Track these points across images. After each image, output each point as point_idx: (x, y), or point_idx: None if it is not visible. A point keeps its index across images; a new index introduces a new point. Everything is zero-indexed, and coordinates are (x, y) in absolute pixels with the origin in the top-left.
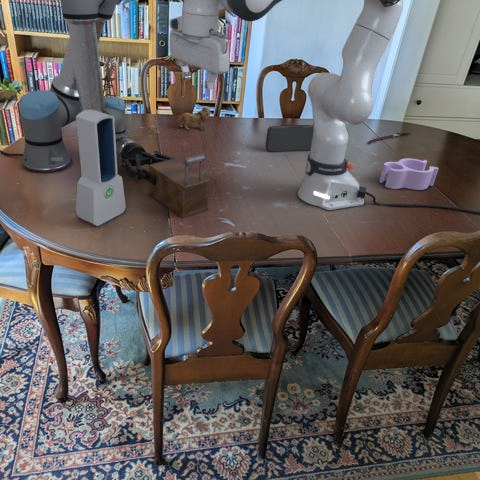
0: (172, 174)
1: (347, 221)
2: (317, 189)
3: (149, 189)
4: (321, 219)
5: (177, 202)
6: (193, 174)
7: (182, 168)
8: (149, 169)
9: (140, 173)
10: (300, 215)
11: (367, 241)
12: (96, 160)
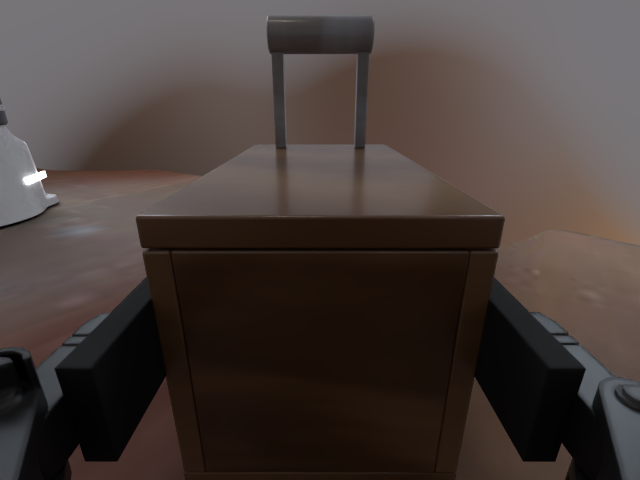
0: (373, 161)
1: (94, 190)
2: (23, 169)
3: (458, 450)
4: (113, 198)
5: None
6: (273, 154)
7: (266, 168)
8: (492, 263)
9: (599, 369)
10: (118, 209)
11: (151, 177)
12: None
